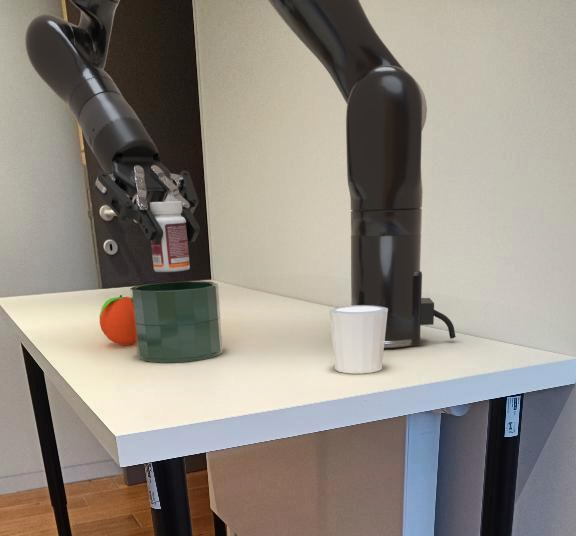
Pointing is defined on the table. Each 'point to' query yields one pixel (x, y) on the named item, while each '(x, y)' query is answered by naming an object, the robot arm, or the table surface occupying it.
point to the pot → (177, 321)
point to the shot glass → (358, 338)
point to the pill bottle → (170, 238)
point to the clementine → (118, 320)
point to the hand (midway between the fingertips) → (177, 237)
